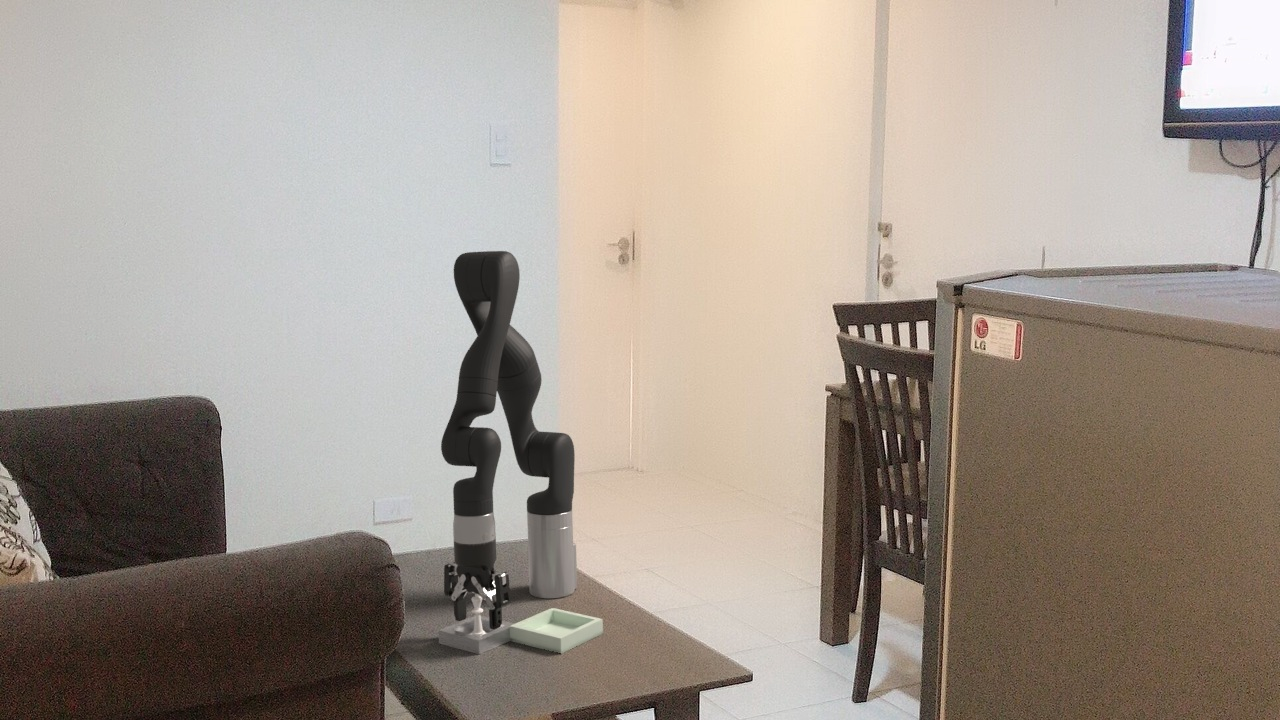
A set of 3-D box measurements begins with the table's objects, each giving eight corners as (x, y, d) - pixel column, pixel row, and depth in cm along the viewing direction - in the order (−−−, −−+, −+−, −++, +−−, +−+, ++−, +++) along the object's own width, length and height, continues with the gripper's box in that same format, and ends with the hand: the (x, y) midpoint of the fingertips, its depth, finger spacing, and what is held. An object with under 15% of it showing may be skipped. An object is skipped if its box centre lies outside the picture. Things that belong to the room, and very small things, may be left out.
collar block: (477, 627, 217) (477, 614, 217) (517, 637, 211) (517, 624, 211) (439, 643, 209) (438, 630, 208) (479, 654, 203) (478, 640, 203)
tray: (552, 622, 219) (552, 607, 219) (603, 633, 212) (602, 619, 212) (510, 640, 209) (509, 625, 209) (561, 653, 202) (560, 638, 202)
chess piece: (487, 646, 207) (485, 592, 206) (460, 644, 208) (458, 590, 207) (495, 636, 212) (493, 583, 211) (470, 635, 213) (468, 582, 212)
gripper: (518, 537, 207) (521, 625, 208) (460, 527, 215) (464, 611, 217) (489, 547, 201) (492, 637, 202) (431, 536, 209) (435, 622, 211)
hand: (477, 624), depth 209 cm, fingers open, 8 cm apart
